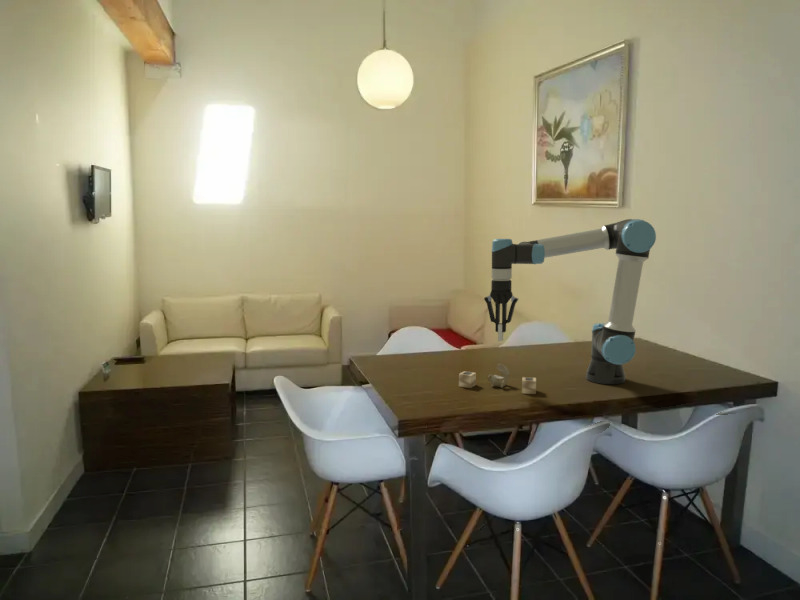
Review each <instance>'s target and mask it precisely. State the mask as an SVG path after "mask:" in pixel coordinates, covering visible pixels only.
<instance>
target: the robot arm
mask: <svg viewBox="0 0 800 600" xmlns="http://www.w3.org/2000/svg"><path fill="white" fill-rule="evenodd" d="M656 240H657V232H656V230H655V228H654V227H653V225H652V224H650V223H649V222H647V221H646V220H644V219H639V218H637V219H635V218H634V219H632V218H629V219H624V220H620V221H617V222H614V223H610V224H605V225H602V226H601V228H597V229H593V230H586V231H582V232H581V231H580V232H574V233H569V234H568V233H567V234H564V235H557V236H553V237H551V236H550V237H546V238H540V239H537V240H528V241H521V242H519V243H514V242H513V240H512V239H511V238H495V239H493V240H492V245H491V279H492V280H491V283H490V284H491V288H490V289H491V290H490V292H489V294H488V295H487V296H485V297H484V298H483V299H484V301H485V303H486V306H487V309H488V310H487V311H488V315H489V319H490V322H491V323H494V324H495V332H496V333H497V341H498V342H503V341H504V333H506V332H507V324H509V323H510V322H511V321H512V318H513V315H514V310H515V307H516V304H517V302H518V301H519V297H516V296H514V294H513V292H512V279H513V278H512V277H513V276H512V275H513V274H512V271H513V270H512V269H513V268H512V266H513V265H516V264H517V265H542V264H543V263H544V261H545V259H546V258H553V257H558V256H563V255H570V254H575V253H581V252H588V251H592V250H598V249H605V250H607V251H608V250H615V249H616V250H615V256H617V258H618V262H617V268H616V274H615V279H614V284H613V285H614V287H613V291H612V297H611V298H612V299H611V304H610V310H609V315H608V321H607V322H605V323H604V322H603V323H602V322H601V323H600V322H599V323H598V322H597V323H594V324H593V325H592V330H591V354H590V355H591V356H590V357H591V358H590V361H589V365H588V367H587V369H586V373H585V379H586V380H587V381H589V382H592V383H596V384H601V385H603V384H604V385H619V384H624V383H625V382H626V373H625V370H624V366H623V365H625V364H627V363H629V362H630V361H632V359H633V358H634V356H635V355H636V352H637V351H636V349H637V348H636V343H635V341H634V340H635V335H636V329H635V327H634V326H633V321H634V316H635V309H636V306H637V299H638V293H639V289H640V282H641V277H642V273H643V272H642V271H643V267H644V266H643V265H644V262H646V260H649V256H650V252H651V249H652V248H653V246H654V245H655V243H656ZM492 300H493V302H494V303H495V304H494V306H495V312H494V309H493V304H492ZM510 301H511V304H510V307H509V310H508V311H507V308H508V307H507V306H508V303H509V302H510ZM501 309H502V310H501ZM507 313H508V315H507ZM500 319H501V320H500Z"/></svg>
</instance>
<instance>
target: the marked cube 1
mask: <svg viewBox="0 0 800 600" xmlns="http://www.w3.org/2000/svg"><path fill="white" fill-rule="evenodd" d="M476 383H477V373H476V372H472V371H466V370H465V371H462V372H459V374H458V387H461V388H467V389H472V388H473V387H475V386H476Z"/></svg>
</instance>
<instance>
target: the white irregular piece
mask: <svg viewBox="0 0 800 600" xmlns="http://www.w3.org/2000/svg"><path fill="white" fill-rule="evenodd" d="M496 369H497V371H498V372H500V373H501V375H502V376H501V375H499V374H498V375H497V374H494V375H493V374H492V373H490V374H489V375H488V376H487V381H488V382H489V383H490V384H491V387H496V388H497V387H498V388H501V389H503V388H504V387H505V386H507V385H508V380H509V377H510V370H509V369H508V368H507V367H506V366H505V365H504V364H501V363H497V366H496Z"/></svg>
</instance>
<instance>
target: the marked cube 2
mask: <svg viewBox="0 0 800 600" xmlns="http://www.w3.org/2000/svg"><path fill="white" fill-rule="evenodd" d="M521 380H522V381H521V383H522V384H521V394H527V395H536V394H537V377H525V376H522V379H521Z"/></svg>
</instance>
